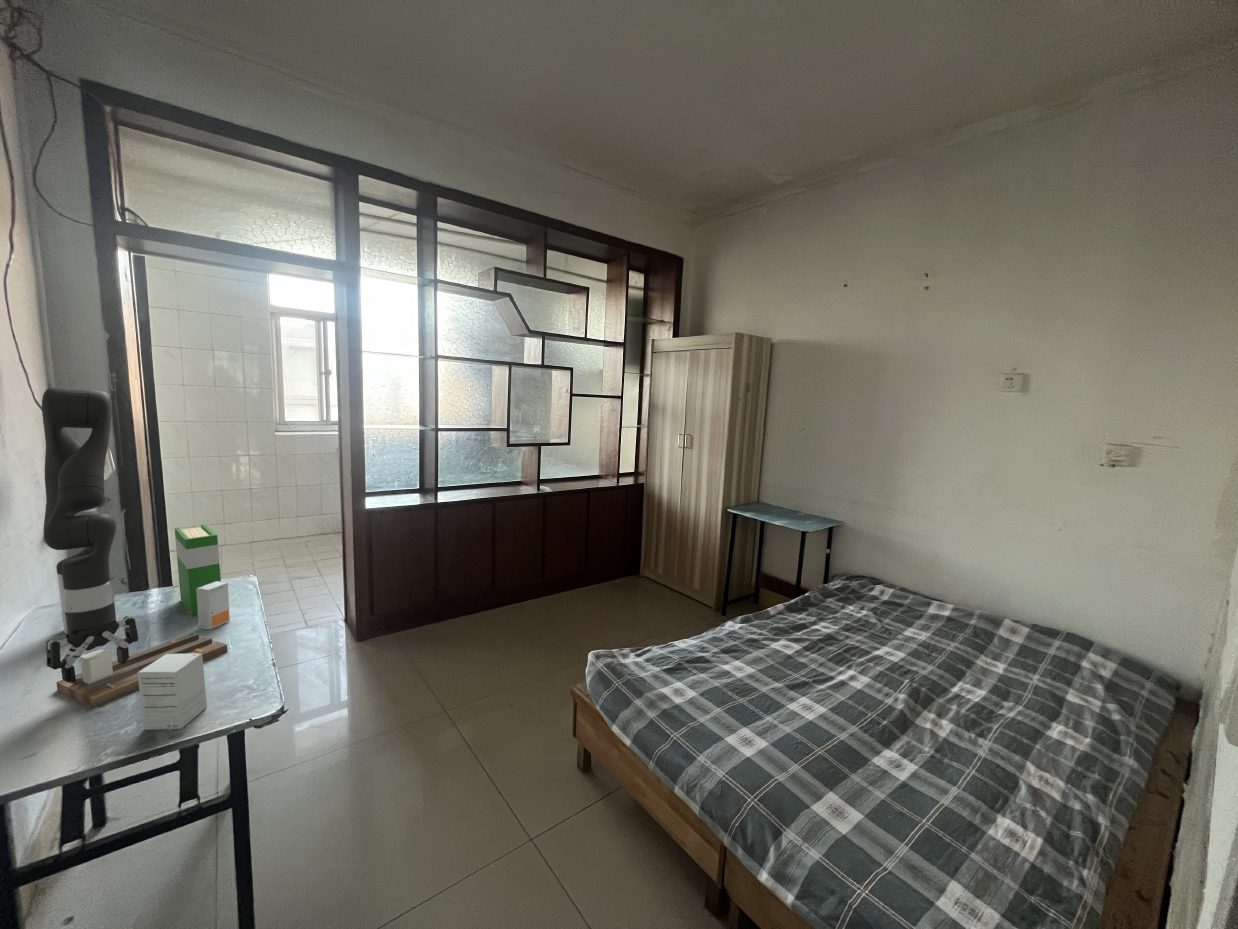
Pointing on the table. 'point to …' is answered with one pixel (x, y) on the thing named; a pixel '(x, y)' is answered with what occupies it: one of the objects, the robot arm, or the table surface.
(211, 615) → the skincare box
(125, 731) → the table surface
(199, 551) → the hardback book
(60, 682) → the fader console
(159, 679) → the supplement box
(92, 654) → the fader tab
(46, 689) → the table surface
